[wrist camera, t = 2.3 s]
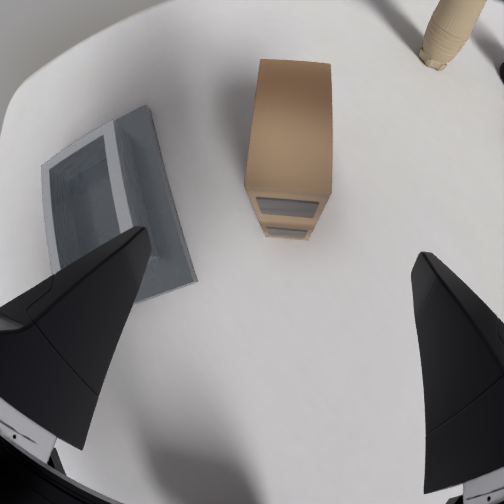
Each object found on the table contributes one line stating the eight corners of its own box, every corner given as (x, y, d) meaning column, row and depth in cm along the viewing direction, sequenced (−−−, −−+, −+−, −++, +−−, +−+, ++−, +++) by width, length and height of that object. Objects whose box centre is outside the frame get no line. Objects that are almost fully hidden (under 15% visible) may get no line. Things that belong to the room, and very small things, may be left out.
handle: (396, 47, 21) (435, -64, 7) (437, 44, 21) (482, -47, 6) (423, 80, 21) (483, -30, 6) (462, 75, 20) (522, -13, 6)
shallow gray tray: (198, 281, 21) (178, 280, 17) (78, 323, 22) (48, 328, 18) (150, 110, 23) (131, 86, 19) (52, 167, 24) (27, 154, 20)
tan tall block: (307, 241, 21) (331, 195, 10) (265, 237, 21) (243, 188, 10) (312, 161, 21) (330, 63, 10) (273, 158, 21) (260, 59, 11)
